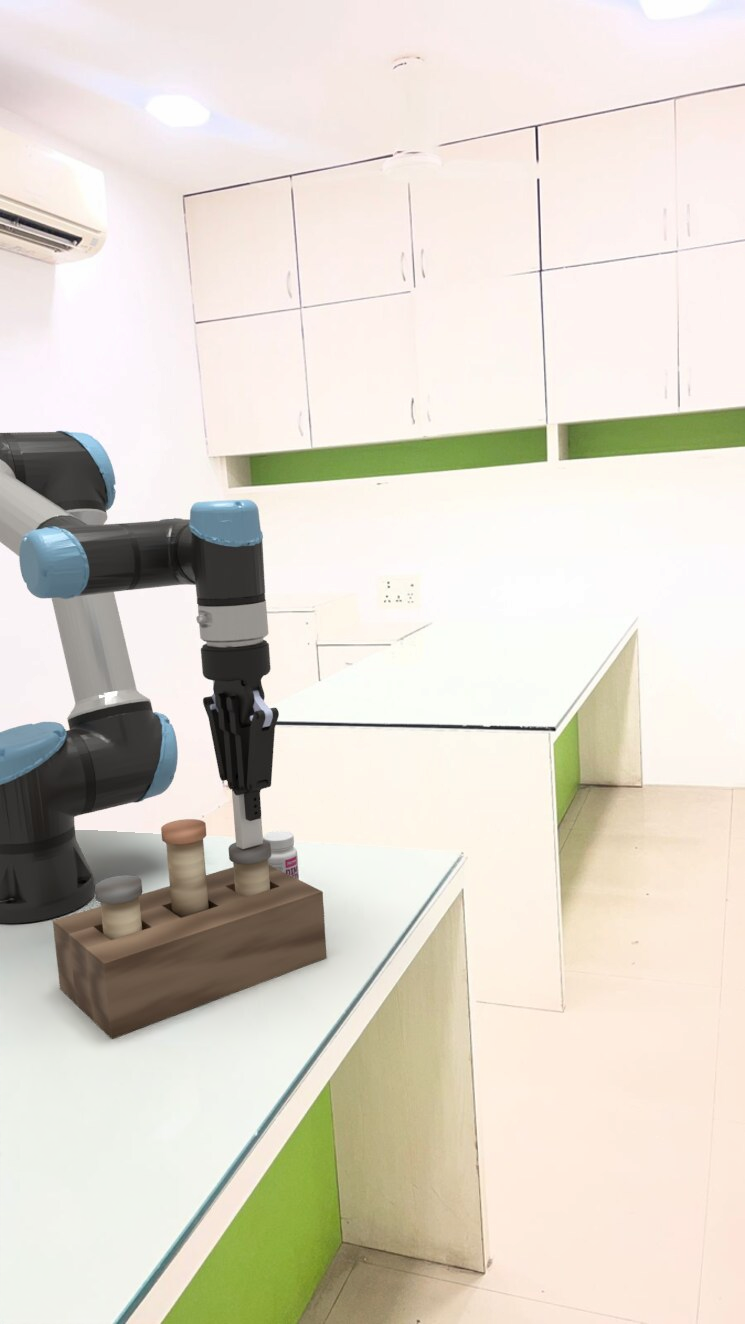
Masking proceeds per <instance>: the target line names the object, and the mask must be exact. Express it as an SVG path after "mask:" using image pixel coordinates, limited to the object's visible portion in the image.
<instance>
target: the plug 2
mask: <svg viewBox="0 0 745 1324" xmlns="http://www.w3.org/2000/svg"><path fill="white" fill-rule="evenodd" d="M270 857H271V844H270V843H269V842H268V841H265V840H263V844H259V845H256V846H252V847H249V848H245V849H241V848H239V847H237V846H236V842H234V843H231V844H230V845H229V846H228V859H229V861H230V862H232V866H233V868H234V881H235V892H236V893H238V894H240V895H242V896H244V897H248V896H252V895H255V894H258V893H261V892H264V891H267V890H270V879H269V865H268V858H270Z"/></svg>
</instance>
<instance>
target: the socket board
mask: <svg viewBox="0 0 745 1324" xmlns="http://www.w3.org/2000/svg"><path fill="white" fill-rule="evenodd" d="M269 879H270V890H267V891H264V892H261V893H258V894H255V895H252V896H248V897H244V896H242V895H240V894H238V893H236V892H235V881H234V868H233V867H230V868H225V869H223V870H219V871H216V872H213V873H208V874H206V881H207V893H208V906H209V909H207V910H204V911H201V912H198V913H195V914H192V915H189V916H185V917H182V918H180V917H179V916H177V915H176V914H174V913H173V912H172V904H171V893H170V885H169V886H166V887H161V888H159V889H154V890H152V891H149V892H145V893H142V894H141V895H140V896H139V901H140V912H141V922H142V930H141V931H138V932H135V933H132V934H129V935H126V936H122V937H119V938H116V939H113V940H110V939H109V938H107V937H106V936H105V935H104V934H103V924H102V914H101V905H99V906H98V907H94V908H90V909H86V910H83V911H80V912H77V913H73V914H70V915H66V916H64V917H60V918H56V919H54V920H53V919H52V925H53V927H52V928H53V935H54V936H53V937H54V944H55V953H56V956H55V957H56V963H57V971H58V983H59V989H60V991H62V993H64V995H66V996H67V998H69V999H70V1000H71V1001H72V1002H73V1003H74V1004H75V1005H76V1006H77V1007H78V1008H79V1009H80V1010H81V1011H82V1012H83V1013H84V1014H85V1015H86V1016H87V1017H88V1018H89V1019H90V1020H91V1021H92V1022H94V1023H95V1024H96V1025H97V1027H99V1028H100V1029H101V1030H102V1031H103V1032H104V1033H105V1035H107V1036H108V1037H109V1038H110V1039H111V1038H112V1039H111V1040H113V1039H115V1038H118V1037H120V1036H124V1035H126V1034H128V1033H129V1034H130V1033H131V1032H134V1031H137V1030H140V1029H141V1028H144V1027H147V1026H149V1025H151V1024H152V1025H153V1024H154V1023H159V1022H160V1021H163V1020H166V1019H168V1018H169V1019H170V1017H174V1016H176V1015H179V1014H181V1013H184V1012H187V1011H190V1010H192V1009H195V1008H197V1007H200V1006H203V1005H206V1004H208V1003H211V1002H213V1001H217V1000H218V999H222V998H224V997H226V996H230V995H231V994H235V993H237V992H240V991H243V990H246V989H248V988H251V987H252V986H256V985H259V984H262V983H264V982H266V981H269V980H272V979H274V978H277V977H280V976H282V975H285V974H287V973H290V972H293V971H295V970H299V969H301V968H303V967H306V966H309V965H311V964H314V963H317V962H320V961H321V960H324V959H327V957H328V956H327V944H326V943H327V941H326V927H325V909H324V893H323V890H321V889H318V888H317V887H314V886H312V885H311V884H309V883H306V882H304V881H302V880H300V879H299V880H298V879H296V878H294V877H292V876H290V875H288V874H286V873H284V872H282V871H280V870H278V869H276V868H274V867H272V866H270V865H269ZM123 1034H124V1035H123Z"/></svg>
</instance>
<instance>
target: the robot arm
mask: <svg viewBox="0 0 745 1324" xmlns="http://www.w3.org/2000/svg"><path fill="white" fill-rule="evenodd" d="M114 471H115V470H114V467H113V465H112V461H111V459H110V457H109V454H108V452H107V451H106V450H105V447H103V445H102V444H101V443H100V441H99V440H97V439H96V438H94V437H93V436H92V435H90V434H88V433H85V432H73V431H72V432H71V431H70V432H69V431H67V430H56V431H35V432H34V431H33V432H32V431H31V432H30V431H28V432H25V431H24V432H23V431H22V432H17V431H16V432H0V543H1V544H2V545H3V546H5V547H6V548H8V549H9V550H10V551H11V552H13V553H14V554H15V555H16V556H18V559H19V568H20V573H21V577H22V579H23V582H24V583H25V584H26V588H27V590H28V592H29V593H31V594H32V596H34V597H36V598H38V599H51V601H52V605H53V611H54V615H55V619H56V622H57V623H56V624H57V628H58V633H59V638H60V641H61V645H62V651H63V654H64V655H63V656H64V659H65V660H64V661H65V665H66V668H67V673H68V677H69V682H70V686H71V690H72V694H73V700H74V703H75V704H74V707H73V709H71V711H70V714H69V715H68V717H67V718H66V719H67V723H68V730H67V729H66V728H65V727H64V725H63V724H61V723H60V722H58V721H57V722H56V721H41V722H37V723H34V724H33V723H27V724H23V725H18V726H15V727H12V728H7V729H6V730H3V731H0V923H2V924H21V923H22V924H24V923H31V922H32V923H33V922H38V921H45V920H49V919H53V918H56V917H59V916H63V915H66V914H69V913H70V912H73V911H76V910H77V909H80V908H81V907H83V906H84V905H86V904H87V903H89V902H90V901H91V900H92V899H93V897H95V895H96V894H95V879H94V875H93V873H92V870H91V867H90V866H89V864H88V862H87V859H86V857H85V855H84V853H83V851H82V848H81V847H80V844H79V842H78V840H77V836H76V827H75V826H76V825H75V817H78V816H82V815H86V814H90V813H95V812H100V811H102V810H107V809H110V808H111V809H112V808H115V807H119V806H120V807H121V806H124V805H127V804H131V803H132V804H133V803H140V802H144V800H146V799H149V798H152V797H156V796H159V795H161V794H163V793H164V792H166V791H167V790H168V789H169V787H170V785H171V784H172V782H173V781H174V778H175V775H176V771H177V766H178V758H179V757H178V753H179V752H178V742H177V736H176V732H175V729H174V726H173V725H172V723H170V719H169V718H168V717H167V716H166V715H165V714H164V713H159V712H157V711H155V712H154V711H153V705H152V702H151V699H150V698H148V697H147V696H146V695H143V693H140V692H139V691H138V689H137V686H136V681H135V677H134V673H133V668H132V665H131V660H130V655H129V651H128V647H127V644H126V643H127V642H126V639H125V633H124V630H123V625H122V621H121V617H120V612H119V608H118V607H119V606H118V605H117V604H118V603H117V600H116V599H117V598H116V595H115V593H116V592H124V591H134V590H135V591H136V590H144V589H153V588H161V587H171V586H183V585H185V586H186V585H193V586H195V593H196V604H197V612H198V613H197V616H196V623H198V624H199V626H198V627H199V638H200V639H201V640H202V641H203V642H205V644H203V645H202V647H201V648H200V655H201V657H200V659H201V669H202V675H203V677H204V678H205V679H207V680H210V681H214V682H213V685H212V686H213V688H212V689H213V690H212V691H213V694H212V695H211V696H205V697H203V699H202V704H203V707H204V710H205V713H206V715H207V717H208V721H209V728H210V733H211V738H212V743H213V744H212V745H213V747H214V748H213V750H214V753H215V758H216V759H215V760H216V764H217V769H218V774H219V778H220V779H219V780H221V781H222V782H225V781H226V782H227V787H228V788H229V790H231V796H232V808H233V819H234V820H233V823H234V834H235V837H234V838H235V843H236V846H237V847H239V848H241V849H245V848H249V847H252V846H256V845H259V844H263V836H264V835H263V823H262V821H263V820H262V806H261V805H262V803H261V790H263V789H267V788H270V787H271V786H272V776H273V760H274V746H275V745H274V743H275V731H276V730H275V729H276V725H277V723H278V720H279V715H280V714H279V709H278V708H277V707H271V708H269V706H268V705H267V703H266V702H265V697H266V696H265V691H264V688H263V683H262V679H263V678H264V676H266V675H268V674H269V673H270V672H271V669H272V668H271V659H270V658H271V657H270V644H269V642H267V640H266V639H265V638H266V637H267V636H268V635H269V624H268V623H269V622H268V610H267V600H266V585H265V584H266V583H265V568H264V567H265V566H264V565H265V564H264V549H263V547H264V546H263V538H264V535H263V531H262V529H261V521H260V513H259V511H260V510H259V506H258V505H257V503H255V501H253V500H251V499H235V500H234V499H230V500H216V501H215V500H214V501H213V500H212V501H211V500H210V501H196V502H194V503H193V504H192V506H191V508H190V510H189V511H190V513H189V518H188V519H186V518H185V519H184V518H180V517H179V518H178V517H177V518H176V517H174V518H164V519H163V518H162V519H159V520H152V521H139V522H137V521H136V522H125V523H122V522H121V523H108V524H105V523H106V522H107V520H108V513H107V511H108V510H110V509H111V508H112V506H113V505H114V502H115V499H116V492H117V491H116V489H115V485H117V484H116V483H117V482H116V476H115V472H114Z"/></svg>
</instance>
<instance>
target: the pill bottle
mask: <svg viewBox="0 0 745 1324" xmlns="http://www.w3.org/2000/svg"><path fill="white" fill-rule="evenodd" d="M294 838H295V837H294V834H293V832H291V831H288V830H274V831H269V832H267V833H264V835H263V840H265V841H268V842H269V843H270V844H271V857H270V858H268V865H270V866H272V867H274V868H276V869H278V870H280V871H282V872H284V873H286V874H288V875H290V876H292V877H294V878H296V879H298V880H300V878H299V877H300V874H299V860H298V859H299V858H298V857H299V856H298V850H297V848H296V847H295V845H294V844H295V839H294Z"/></svg>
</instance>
